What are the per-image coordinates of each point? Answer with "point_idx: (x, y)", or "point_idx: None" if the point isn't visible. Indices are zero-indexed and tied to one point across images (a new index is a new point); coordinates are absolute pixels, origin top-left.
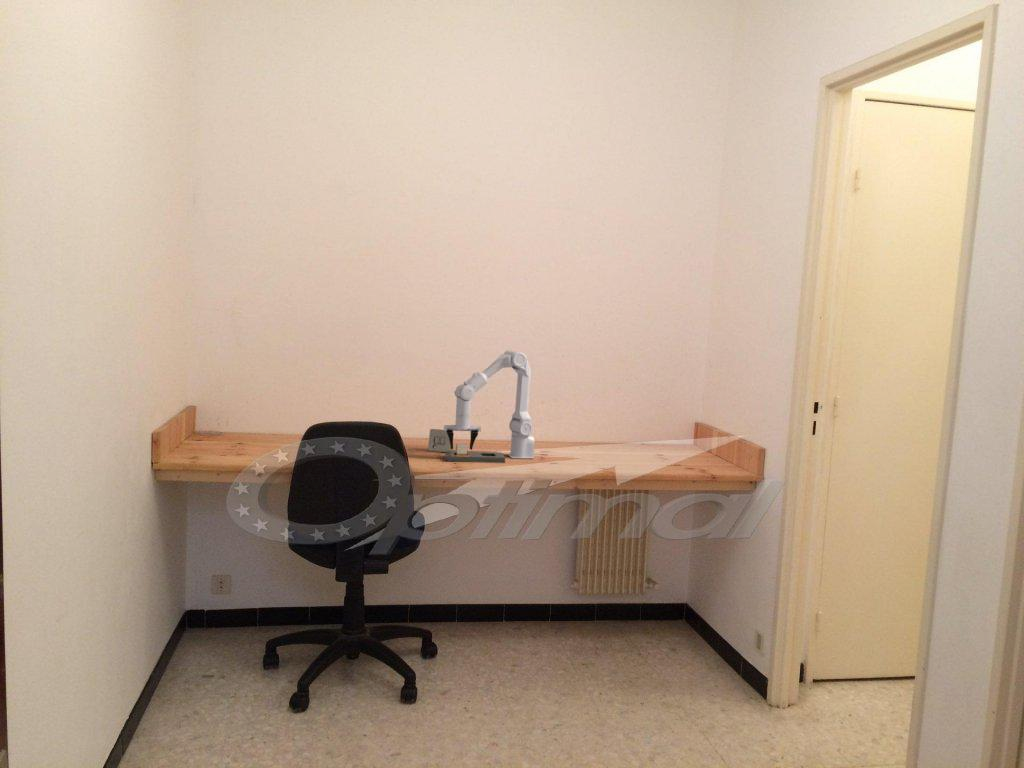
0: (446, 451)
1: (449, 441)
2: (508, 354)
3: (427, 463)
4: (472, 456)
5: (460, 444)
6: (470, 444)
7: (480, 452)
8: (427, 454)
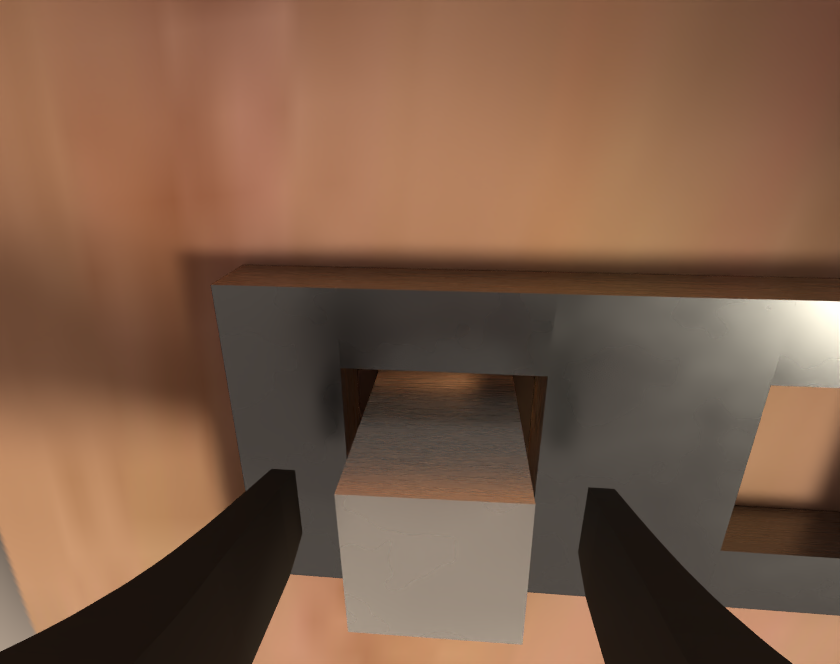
0: (237, 289)
1: None
2: None
3: (105, 589)
4: (569, 571)
5: (411, 570)
6: (606, 581)
7: (798, 324)
8: (2, 149)
